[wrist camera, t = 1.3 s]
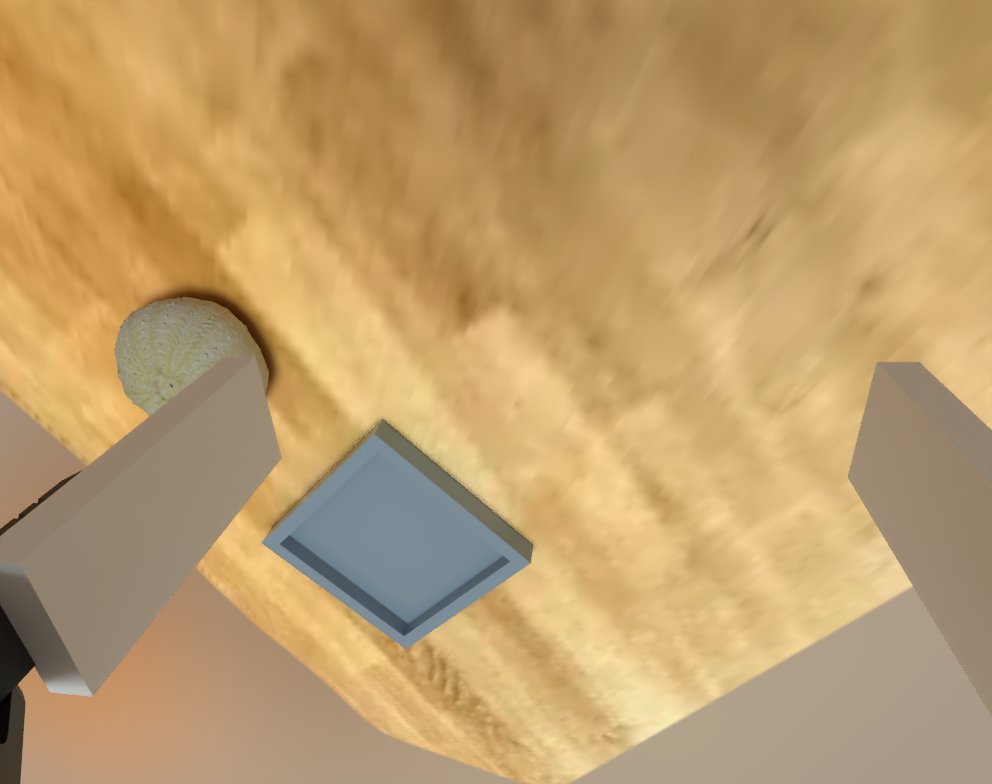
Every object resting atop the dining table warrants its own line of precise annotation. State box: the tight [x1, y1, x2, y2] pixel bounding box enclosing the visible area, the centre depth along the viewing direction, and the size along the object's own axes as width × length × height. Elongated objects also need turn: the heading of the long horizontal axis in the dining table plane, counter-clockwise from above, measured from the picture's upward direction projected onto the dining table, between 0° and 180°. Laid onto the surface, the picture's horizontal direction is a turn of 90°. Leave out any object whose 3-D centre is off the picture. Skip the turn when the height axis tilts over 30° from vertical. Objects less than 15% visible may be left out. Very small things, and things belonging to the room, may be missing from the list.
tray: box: [262, 420, 533, 649], centre depth 45 cm, size 14×14×2 cm
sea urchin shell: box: [114, 297, 269, 416], centre depth 39 cm, size 9×8×8 cm
